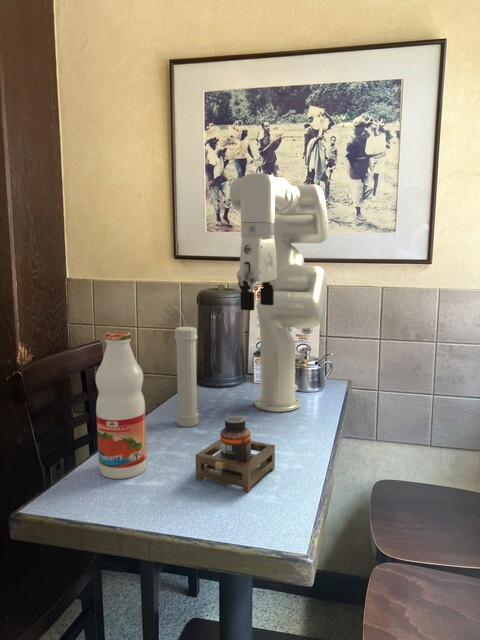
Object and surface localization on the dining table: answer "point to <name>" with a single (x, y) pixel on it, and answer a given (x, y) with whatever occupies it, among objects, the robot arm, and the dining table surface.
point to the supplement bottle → (235, 442)
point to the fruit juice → (120, 410)
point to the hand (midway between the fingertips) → (257, 307)
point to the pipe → (186, 375)
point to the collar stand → (235, 465)
